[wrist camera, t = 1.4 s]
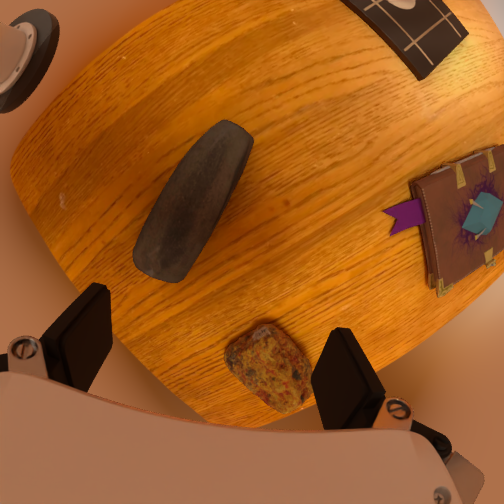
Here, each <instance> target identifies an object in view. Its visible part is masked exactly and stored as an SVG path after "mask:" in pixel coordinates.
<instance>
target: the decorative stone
mask: <svg viewBox="0 0 504 504" xmlns="http://www.w3.org/2000/svg"><path fill="white" fill-rule="evenodd" d="M253 143H254V139H253V137H252V136H251V135H250V134H249V133H248V132H247V131H245V130H244V128H242V127H240V126H239V125H237V124H235V123H233V122H231V121H228V120H221V121H220V122H218V123H217V124H215V125H214V126H213V127H211V128H210V129H209V130H208V131H207V132H206V133H205V134H204V135H203V136H202V137H201V138H200V139H199V140H198V141H197V142H196V143H195V144H194V145H193V146H192V147H191V149H190V150H189V151H188V152H187V153H186V155H185V156H184V157H183V159H182V160H181V162H180V163H179V164H178V166H177V167H176V169H175V170H174V172H173V174H172V175H171V177H170V178H169V180H168V182H167V183H166V185H165V187H164V189H163V190H162V192H161V194H160V196H159V198H158V199H157V201H156V203H155V205H154V207H153V208H152V210H151V212H150V214H149V216H148V218H147V220H146V222H145V224H144V226H143V228H142V230H141V232H140V234H139V237H138V239H137V242H136V244H135V246H134V249H133V262H134V264H135V266H136V267H137V268H138V269H139V270H140V271H142V272H143V273H145V274H147V275H148V276H150V277H153V278H155V279H158V280H162V281H166V282H170V283H178V282H180V281H182V280H183V279H184V278H185V276H186V275H187V273H188V272H189V270H190V269H191V267H192V265H193V264H194V262H195V261H196V259H197V257H198V256H199V254H200V253H201V251H202V249H203V247H204V246H205V244H206V242H207V241H208V239H209V237H210V236H211V234H212V232H213V230H214V229H215V227H216V225H217V223H218V221H219V219H220V217H221V215H222V213H223V211H224V209H225V207H226V206H227V204H228V202H229V200H230V198H231V195H232V193H233V191H234V189H235V187H236V185H237V183H238V181H239V179H240V177H241V175H242V173H243V170H244V168H245V166H246V163H247V160H248V157H249V155H250V152H251V149H252V146H253Z"/></svg>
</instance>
